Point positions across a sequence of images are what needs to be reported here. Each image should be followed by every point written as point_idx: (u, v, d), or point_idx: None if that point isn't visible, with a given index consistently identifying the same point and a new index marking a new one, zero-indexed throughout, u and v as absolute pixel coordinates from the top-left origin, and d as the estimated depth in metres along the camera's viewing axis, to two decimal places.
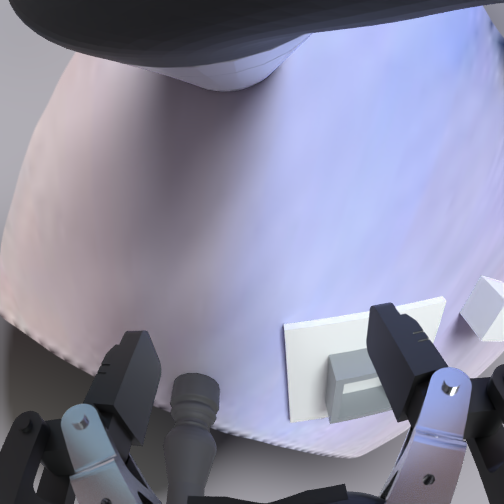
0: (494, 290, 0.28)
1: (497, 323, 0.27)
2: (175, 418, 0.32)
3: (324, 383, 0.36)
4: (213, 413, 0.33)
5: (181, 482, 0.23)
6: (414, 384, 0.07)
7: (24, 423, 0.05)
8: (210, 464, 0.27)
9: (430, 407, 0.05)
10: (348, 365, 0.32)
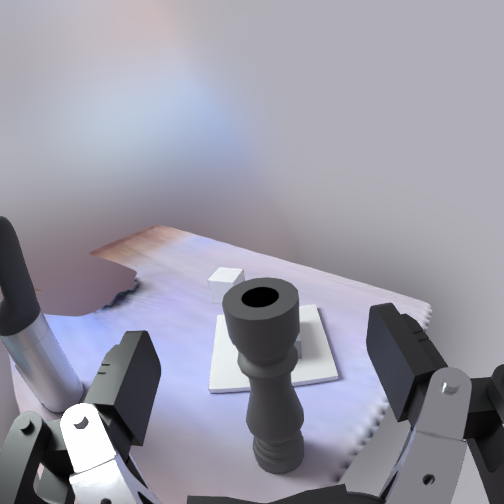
0: (210, 290, 0.67)
1: (223, 278, 0.65)
2: (267, 446, 0.29)
3: None
4: None
5: None
6: (414, 384, 0.07)
7: (24, 423, 0.05)
8: None
9: (430, 407, 0.05)
10: None
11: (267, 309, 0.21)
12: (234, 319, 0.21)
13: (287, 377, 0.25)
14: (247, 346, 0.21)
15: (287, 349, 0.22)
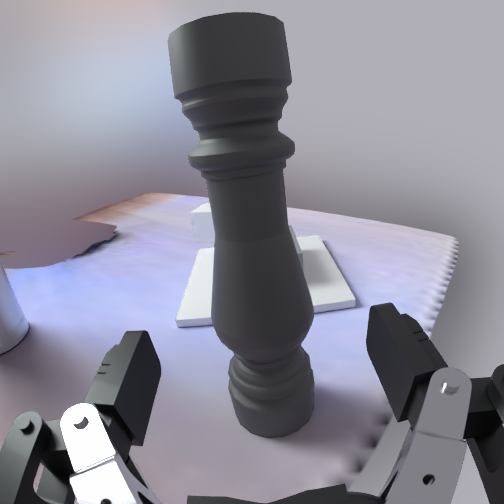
0: (192, 225, 0.56)
1: (207, 210, 0.55)
2: (250, 375, 0.18)
3: None
4: None
5: None
6: (414, 384, 0.07)
7: (23, 423, 0.05)
8: None
9: (430, 407, 0.05)
10: None
11: None
12: (180, 31, 0.10)
13: (276, 181, 0.14)
14: (198, 73, 0.11)
15: (271, 94, 0.12)
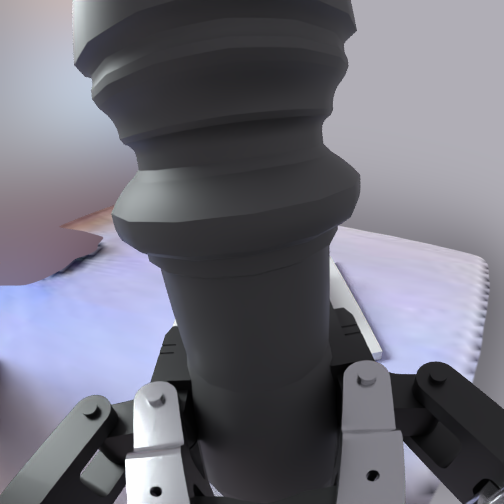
0: None
1: None
2: None
3: None
4: None
5: None
6: (333, 374, 0.08)
7: (89, 408, 0.06)
8: None
9: (351, 404, 0.06)
10: None
11: None
12: None
13: (318, 271, 0.06)
14: None
15: (318, 46, 0.04)
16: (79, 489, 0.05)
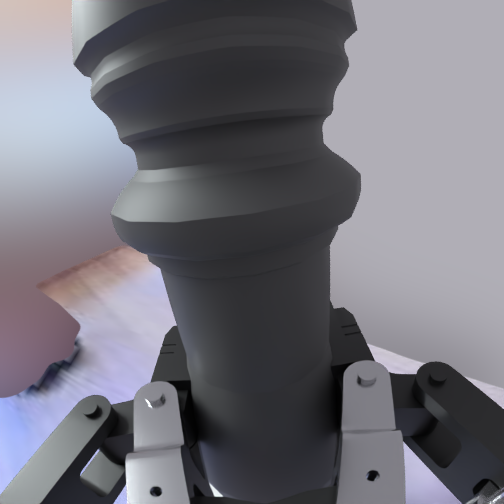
0: None
1: None
2: None
3: None
4: None
5: None
6: (333, 374, 0.08)
7: (89, 408, 0.06)
8: None
9: (351, 404, 0.06)
10: None
11: None
12: None
13: (318, 271, 0.06)
14: None
15: (318, 45, 0.04)
16: (79, 489, 0.05)
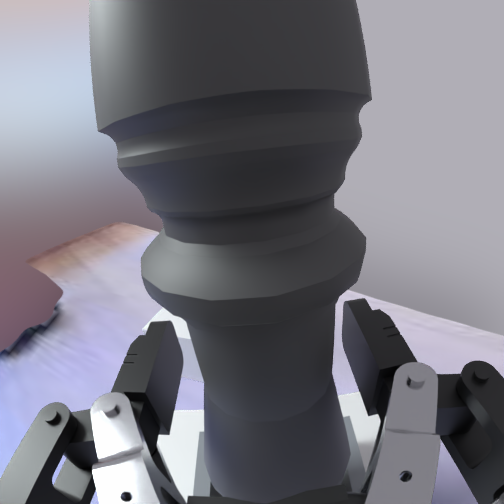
0: None
1: (174, 327, 0.28)
2: None
3: None
4: None
5: None
6: (380, 378, 0.07)
7: (50, 415, 0.06)
8: None
9: (397, 404, 0.06)
10: None
11: None
12: None
13: (326, 323, 0.07)
14: (133, 74, 0.03)
15: (338, 134, 0.04)
16: (54, 495, 0.04)
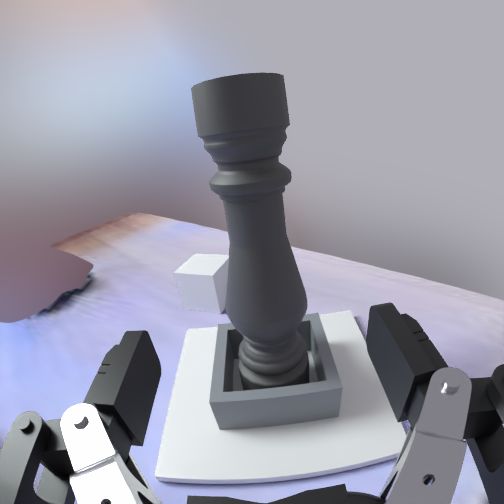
0: (178, 289, 0.41)
1: (198, 270, 0.40)
2: (257, 355, 0.23)
3: (287, 427, 0.22)
4: None
5: (230, 238, 0.21)
6: (414, 384, 0.07)
7: (24, 423, 0.05)
8: None
9: (430, 407, 0.05)
10: None
11: None
12: (203, 86, 0.15)
13: (277, 203, 0.19)
14: (218, 123, 0.15)
15: (273, 138, 0.16)
16: (37, 502, 0.04)
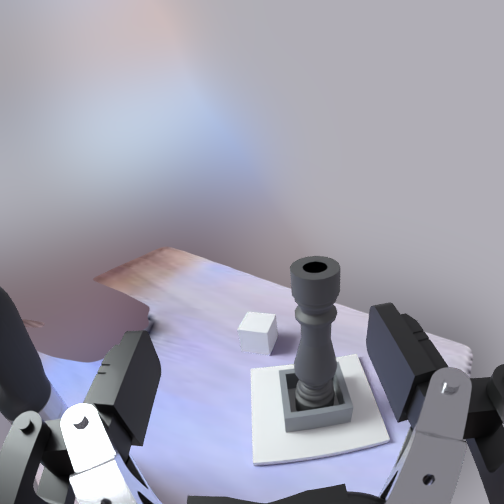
0: (239, 339, 0.58)
1: (255, 327, 0.57)
2: (309, 391, 0.40)
3: (323, 428, 0.39)
4: None
5: (301, 338, 0.38)
6: (414, 384, 0.07)
7: (24, 423, 0.05)
8: None
9: (430, 407, 0.05)
10: None
11: (322, 274, 0.32)
12: (301, 280, 0.32)
13: (329, 326, 0.36)
14: (308, 299, 0.33)
15: (332, 302, 0.34)
16: (37, 502, 0.04)
